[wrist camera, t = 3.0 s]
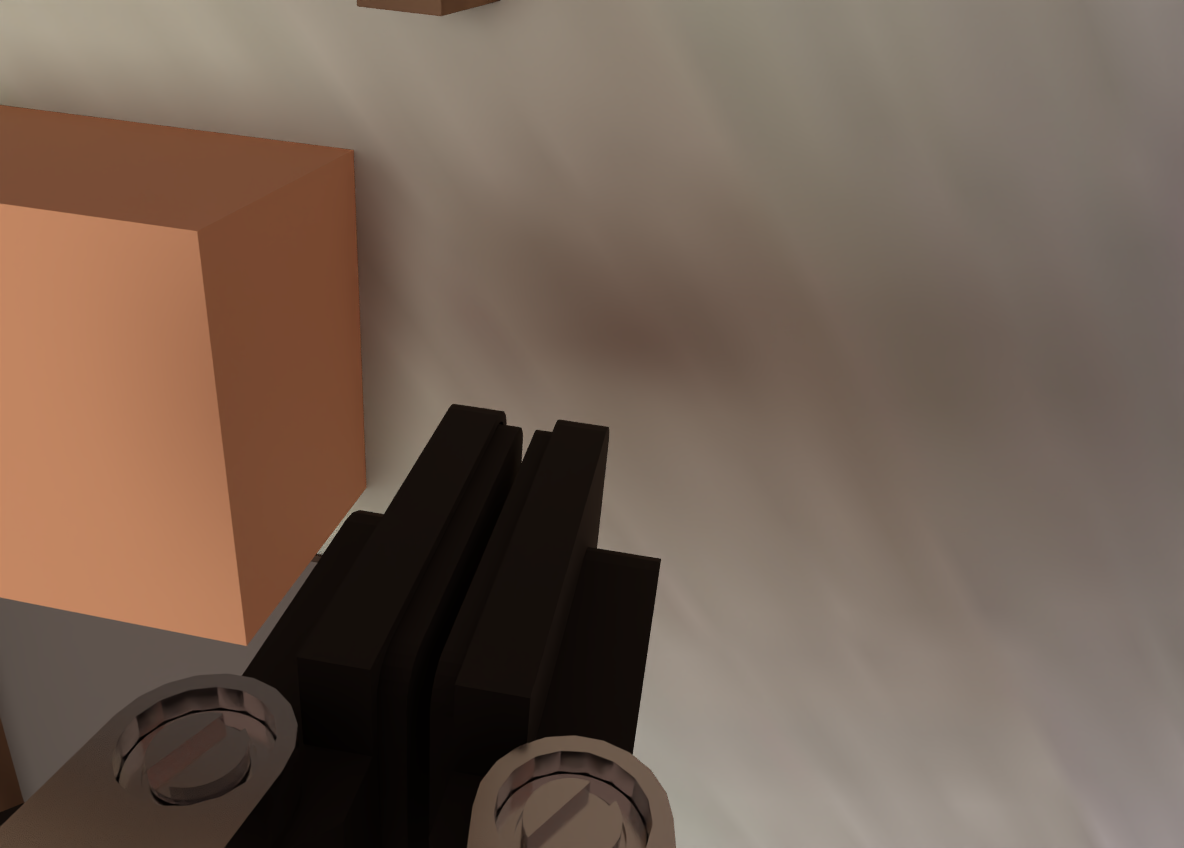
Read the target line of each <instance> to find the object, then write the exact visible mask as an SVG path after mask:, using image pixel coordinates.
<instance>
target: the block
mask: <svg viewBox="0 0 1184 848" xmlns="http://www.w3.org/2000/svg"><path fill="white" fill-rule="evenodd" d="M365 489H366V465H365V439H364V413H363V386H362V360H361V334H360V308H359V281H358V255H357V229H356V203H355V176H354V150H350V149H342V148H334V147H326V146H318V145H310V144H302V143H295V142H287V141H279V140H271V139H263V138H255V137H247V136H240V135H232V134H224V133H216V132H208V131H200V130H192V129H184V128H177V127H169V126H161V125H153V124H145V123H137V122H129V121H122V120H114V119H106V118H98V117H90V116H82V115H74V114H66V113H59V112H51V111H43V110H35V109H27V108H19V107H11V106H4V105H0V597H1V598H6V599H11V600H16V601H21V602H26V603H31V604H36V605H41V606H46V607H51V608H56V609H61V610H67V611H72V612H77V613H82V614H87V615H92V616H97V617H102V618H107V619H112V620H117V621H122V622H127V623H132V624H138V625H143V626H148V627H153V628H158V629H163V630H168V631H173V632H178V633H183V634H188V635H193V636H198V637H203V638H209V639H214V640H219V641H224V642H229V643H234V644H239V645H244V646H247V645H248V644H249V642H250V641H251V640H252V638H253V637H254V636H255V634H256V633H257V632H258V630H259V629H260V628H261V626H262V625H263V624H264V622H265V621H266V620H267V618H268V617H269V616H270V615H271V613H272V612H273V611H274V609H275V608H276V607H277V605H278V604H279V603H280V601H281V600H282V599H283V597H284V596H285V595H286V593H287V592H288V591H289V589H290V588H291V587H292V585H293V584H294V583H295V581H296V580H297V579H298V577H299V576H300V575H301V573H302V572H303V571H304V570H305V568H306V567H307V566H308V564H309V563H310V562H311V560H312V559H313V558H314V556H315V555H316V554H317V552H318V551H319V550H320V548H321V547H322V546H323V544H324V543H325V542H326V540H327V539H328V538H329V536H330V535H331V534H332V532H333V531H334V530H335V528H336V527H337V526H338V525H339V523H340V522H341V521H342V519H343V518H344V517H345V515H346V514H347V513H348V511H349V510H350V509H351V507H352V506H353V505H354V503H355V502H356V501H357V499H358V498H359V497H360V495H361V494H362V493H363V491H364V490H365Z"/></svg>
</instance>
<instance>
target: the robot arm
mask: <svg viewBox="0 0 1184 848" xmlns="http://www.w3.org/2000/svg"><path fill="white" fill-rule="evenodd" d="M608 442H609V427H605V426H598V425H592V424H585V423H578V422H571V421H565V420H557V422H556V424H555V427H554V429H553V432H548V431H541V430H536V431H535V433H534V435H533V437H532V440H531V442H530V444H529V447H528V449H527V452H526V454H525V456H524V459H523V461H522V444H523V432H522V428H521V427H515V426H508V425H506V415H505V413H504V411H498V410H491V409H484V408H478V407H471V406H464V405H458V404H452V405H451V406H450V408H449V409H448V411H447V412H446V414H445V416H444V417H443V419H442V420H441V422H440V424H439V425H438V427H437V429H436V430H435V432H434V434H433V435H432V437H431V438H430V440H429V442H428V443H427V445H426V447H425V448H424V450H423V451H422V453H421V455H420V456H419V458H418V460H417V461H416V463H415V465H414V466H413V468H412V469H411V471H410V473H409V474H408V476H407V478H406V479H405V481H404V482H403V484H402V486H401V487H400V489H399V491H398V492H397V494H396V495H395V497H394V499H393V500H392V502H391V504H390V505H389V507H388V509H387V510H386V512H385V513H384V514H379V513H373V512H367V511H361V510H359V511H356V512H353V513H352V514H351V515H350V516H349V517H348V518H347V520H346V521H345V522H344V524H343V525H342V527H341V528H340V530H339V531H338V533H337V534H336V536H335V537H334V539H333V540H332V542H331V543H330V545H329V546H328V548H327V549H326V551H325V552H324V554H323V555H322V557H321V558H320V560H319V561H318V563H317V564H316V566H315V567H314V569H313V570H312V572H311V573H310V575H309V576H308V577H307V579H306V580H305V582H304V583H303V585H302V586H301V588H300V589H299V591H298V592H297V594H296V595H295V597H294V598H293V600H292V601H291V603H290V604H289V606H288V607H287V609H286V610H285V612H284V613H283V615H282V616H281V618H280V619H279V621H278V622H277V624H276V625H275V627H274V628H273V630H272V631H271V633H270V634H269V636H268V637H267V639H266V640H265V642H264V643H263V645H262V646H261V648H260V649H259V651H258V652H257V654H256V655H255V657H254V658H253V660H252V661H251V663H250V664H249V666H248V667H247V669H246V670H245V672H244V673H243V675H242V676H239V675H233V674H227V673H226V674H208V675H196V676H192V677H188V678H184V679H180V680H177V681H173V682H169V683H166V684H164V685H162V686H160V687H158V688H156V689H153V690H151V691H149V692H147V693H145V694H143V695H141V696H139V697H137V698H136V699H135V700H134V701H132V702H131V703H130V704H128V705H127V706H126V707H124V708H123V709H122V710H121V711H119V712H118V713H117V714H115V715H114V716H113V717H112V718H111V719H110V720H109V721H108V722H107V723H106V724H105V725H104V726H103V727H102V728H101V729H100V730H99V731H98V732H97V733H96V734H95V735H94V736H93V737H92V738H91V739H90V740H88V741H87V742H86V743H85V744H84V745H83V746H82V747H81V748H80V749H79V750H78V751H77V752H76V753H75V754H74V755H73V756H72V757H71V758H70V759H69V760H68V761H67V762H66V763H65V764H64V765H63V766H62V767H61V768H60V769H59V770H58V771H57V772H56V773H55V774H54V775H53V776H52V777H51V778H50V779H49V780H48V781H46V782H45V783H44V784H43V785H42V786H41V787H40V788H39V789H38V790H37V791H36V792H35V793H34V794H33V795H32V796H31V797H30V798H29V799H28V800H27V801H26V802H25V803H22V804H20V805H17V806H14V807H12V808H9V809H7V810H4V811H2V812H0V848H676V842H675V831H674V819H673V815H672V811H671V808H670V804H669V800H668V797H667V793H666V792H665V790H664V789H663V787H662V786H661V784H660V783H659V781H658V780H657V778H656V777H655V775H654V774H653V772H652V771H651V770H650V769H649V768H648V767H647V766H645V765H644V764H643V763H642V762H640V761H639V760H638V759H637V758H636V757H634V756H633V748H634V741H635V734H636V727H637V721H638V714H639V707H640V700H641V693H642V686H643V679H644V672H645V666H646V659H647V652H648V645H649V638H650V631H651V624H652V617H653V611H654V604H655V597H656V590H657V583H658V576H659V569H660V562H661V559H659V558H653V557H647V556H641V555H634V554H628V553H622V552H616V551H609V550H603V549H597V543H598V533H599V524H600V515H601V506H602V497H603V488H604V479H605V470H606V461H607V452H608ZM521 461H522V463H521Z"/></svg>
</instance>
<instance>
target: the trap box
mask: <svg viewBox="0 0 1184 848" xmlns="http://www.w3.org/2000/svg"><path fill="white" fill-rule="evenodd" d="M497 1H500V0H357V6H359V7H368V8H376V9H385V10H393V11H402V12H410V13H419V14H427V15H436V16H443V15H447V14H451V13H455V12H459V11H462V10H466V9H470V8H474V7H478V6H481V5H485V4H489V3H493V2H497ZM320 558H321V556H316V555H315V556H314V558H313V559H312V560H311V562H310V563H309V564H308V566H307V567H306V568H305V570H304V571H303V572H302V573H301V575H300V576H299V577H298V579H297V580H296V581H295V583H294V584H293V585H292V587H291V588H290V589H289V591H288V592H287V593H286V595H285V596H284V597H283V599H282V600H281V601H280V603H279V604H278V605H277V607H276V608H275V609H274V611H273V612H272V613H271V615H270V616H269V617H268V618H267V620H266V621H265V622H264V624H263V625H262V626H261V628H260V629H259V630H258V632H257V633H256V634H255V636H254V637H253V638H252V640H251V641H250V642H249V644H248V645H247V646H244V645H239V644H234V643H229V642H224V641H219V640H214V639H209V638H203V637H198V636H193V635H188V634H183V633H178V632H173V631H168V630H163V629H158V628H153V627H148V626H143V625H138V624H132V623H127V622H122V621H117V620H112V619H107V618H102V617H97V616H92V615H87V614H82V613H77V612H72V611H67V610H61V609H56V608H51V607H46V606H41V605H36V604H31V603H26V602H21V601H16V600H11V599H6V598H1V597H0V812H2V811H4V810H7V809H9V808H12V807H14V806H17V805H20V804H22V803H25V802H26V801H27V800H28V799H29V798H30V797H31V796H32V795H33V794H34V793H35V792H36V791H37V790H38V789H39V788H40V787H41V786H42V785H43V784H44V783H45V782H46V781H48V780H49V779H50V778H51V777H52V776H53V775H54V774H55V773H56V772H57V771H58V770H59V769H60V768H61V767H62V766H63V765H64V764H65V763H66V762H67V761H68V760H69V759H70V758H71V757H72V756H73V755H74V754H75V753H76V752H77V751H78V750H79V749H80V748H81V747H82V746H83V745H84V744H85V743H86V742H87V741H88V740H90V739H91V738H92V737H93V736H94V735H95V734H96V733H97V732H98V731H99V730H100V729H101V728H102V727H103V726H104V725H105V724H106V723H107V722H108V721H109V720H110V719H111V718H112V717H113V716H114V715H115V714H117V713H118V712H119V711H121V710H122V709H123V708H124V707H126V706H127V705H128V704H130V703H131V702H132V701H134V700H135V699H136V698H137V697H139V696H141V695H143V694H145V693H147V692H149V691H151V690H153V689H156V688H158V687H160V686H162V685H164V684H166V683H169V682H173V681H177V680H180V679H184V678H188V677H192V676H196V675H208V674H226V673H227V674H233V675H239V676H242V675H243V673H244V672H245V670H246V669H247V667H248V666H249V664H250V663H251V661H252V660H253V658H254V657H255V655H256V654H257V652H258V651H259V649H260V648H261V646H262V645H263V643H264V642H265V640H266V639H267V637H268V636H269V634H270V633H271V631H272V630H273V628H274V627H275V625H276V624H277V622H278V621H279V619H280V618H281V616H282V615H283V613H284V612H285V610H286V609H287V607H288V606H289V604H290V603H291V601H292V600H293V598H294V597H295V595H296V594H297V592H298V591H299V589H300V588H301V586H302V585H303V583H304V582H305V580H306V579H307V577H308V576H309V575H310V573H311V572H312V570H313V569H314V567H315V566H316V564H317V563H318V561H319V560H320Z"/></svg>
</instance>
